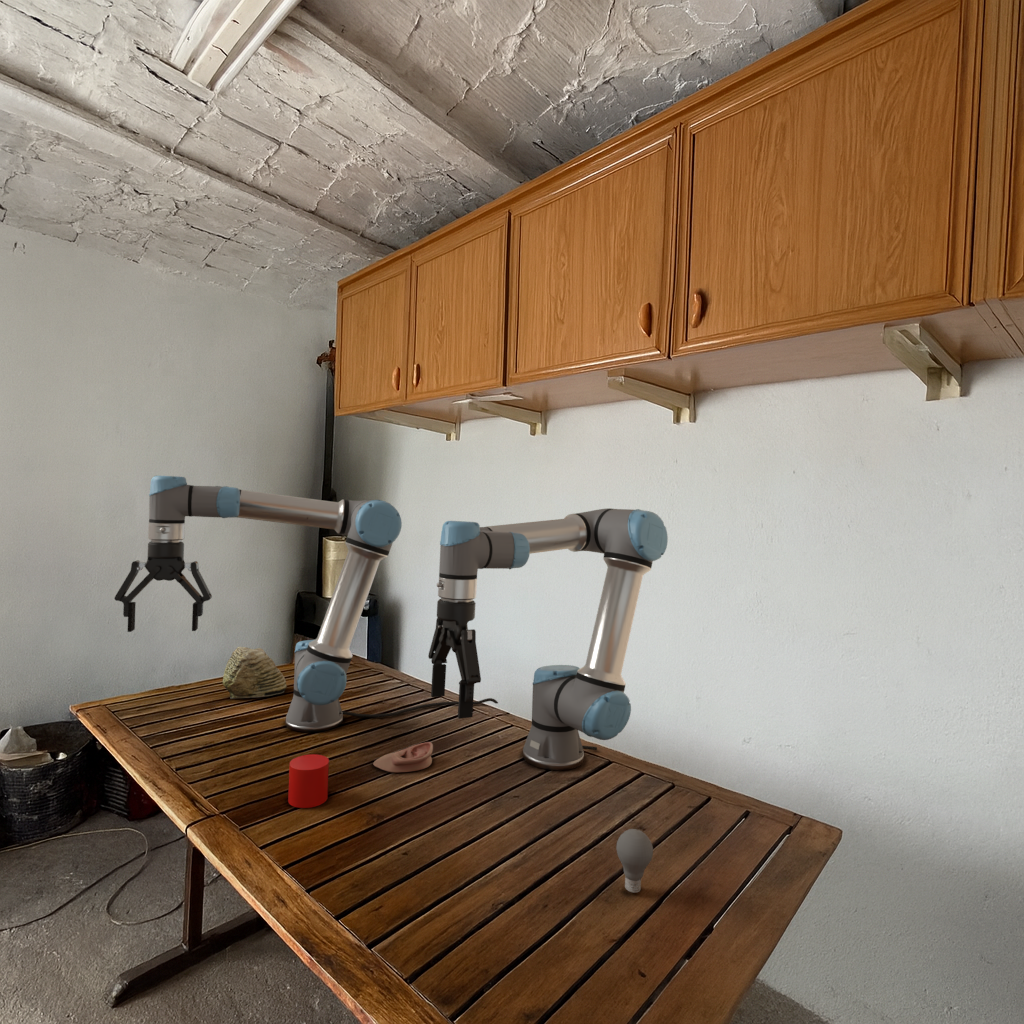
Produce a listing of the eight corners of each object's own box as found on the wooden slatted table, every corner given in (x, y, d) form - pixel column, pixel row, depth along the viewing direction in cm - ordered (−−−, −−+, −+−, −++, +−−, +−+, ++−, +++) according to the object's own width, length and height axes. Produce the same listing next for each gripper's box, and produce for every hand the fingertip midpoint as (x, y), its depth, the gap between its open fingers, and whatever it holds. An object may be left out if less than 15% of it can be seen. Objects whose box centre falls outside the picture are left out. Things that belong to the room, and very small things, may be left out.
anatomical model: (368, 752, 148) (387, 734, 159) (367, 769, 148) (386, 750, 159) (422, 759, 145) (438, 741, 156) (421, 776, 145) (437, 757, 156)
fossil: (218, 695, 195) (220, 647, 195) (278, 685, 208) (279, 640, 207) (228, 703, 189) (230, 653, 188) (289, 692, 201) (290, 645, 201)
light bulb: (610, 879, 108) (613, 822, 108) (644, 879, 109) (647, 822, 109) (619, 902, 102) (622, 840, 102) (655, 901, 103) (658, 840, 103)
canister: (327, 805, 130) (329, 768, 130) (287, 809, 128) (288, 771, 128) (327, 788, 138) (328, 753, 137) (288, 792, 135) (290, 755, 135)
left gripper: (100, 540, 143) (97, 634, 143) (220, 543, 150) (217, 632, 150) (112, 538, 150) (109, 627, 150) (226, 541, 157) (223, 626, 157)
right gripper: (416, 590, 134) (411, 690, 134) (465, 610, 112) (459, 729, 112) (449, 589, 138) (443, 687, 138) (503, 609, 116) (496, 724, 116)
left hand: (163, 630), depth 150 cm, fingers open, 13 cm apart
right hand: (450, 706), depth 125 cm, fingers open, 13 cm apart
